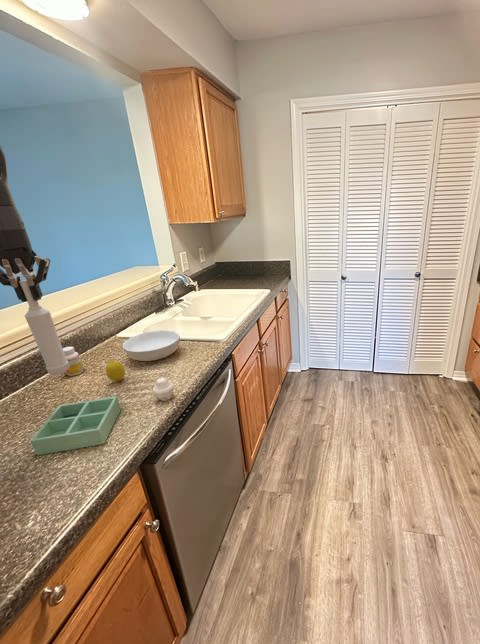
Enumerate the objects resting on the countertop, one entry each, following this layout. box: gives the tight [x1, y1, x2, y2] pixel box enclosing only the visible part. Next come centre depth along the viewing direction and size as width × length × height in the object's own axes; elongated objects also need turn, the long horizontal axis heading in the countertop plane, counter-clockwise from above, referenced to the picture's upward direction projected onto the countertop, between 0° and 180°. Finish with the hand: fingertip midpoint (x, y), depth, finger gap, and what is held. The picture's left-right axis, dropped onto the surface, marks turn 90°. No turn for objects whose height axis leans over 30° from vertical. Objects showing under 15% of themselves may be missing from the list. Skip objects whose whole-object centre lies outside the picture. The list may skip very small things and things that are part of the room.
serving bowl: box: [122, 329, 181, 362], centre depth 128 cm, size 21×21×7 cm
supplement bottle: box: [62, 346, 85, 377], centre depth 117 cm, size 5×5×10 cm
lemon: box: [105, 360, 126, 382], centre depth 110 cm, size 6×6×8 cm
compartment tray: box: [29, 396, 122, 456], centre depth 87 cm, size 15×15×4 cm
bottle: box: [19, 279, 70, 375], centre depth 84 cm, size 5×5×25 cm
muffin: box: [152, 377, 175, 402], centre depth 99 cm, size 6×6×7 cm
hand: (32, 300), depth 81 cm, fingers closed on bottle, 2 cm apart
